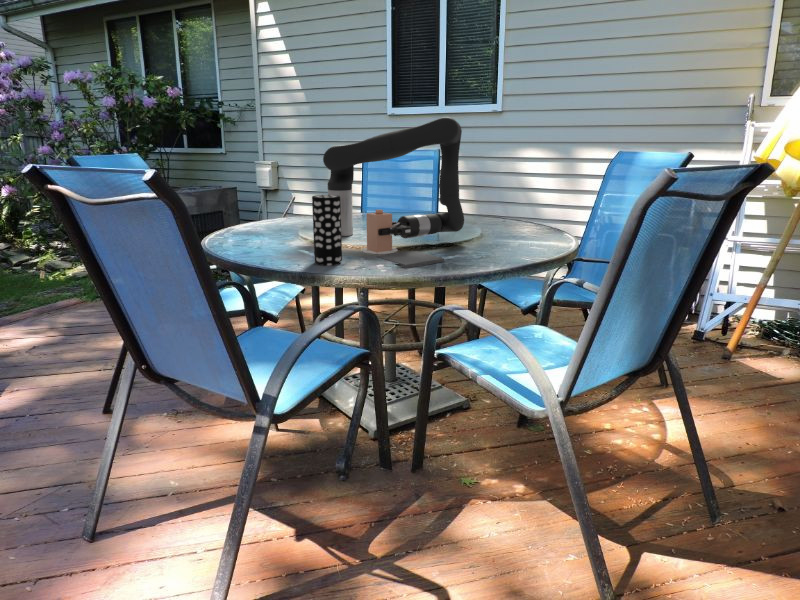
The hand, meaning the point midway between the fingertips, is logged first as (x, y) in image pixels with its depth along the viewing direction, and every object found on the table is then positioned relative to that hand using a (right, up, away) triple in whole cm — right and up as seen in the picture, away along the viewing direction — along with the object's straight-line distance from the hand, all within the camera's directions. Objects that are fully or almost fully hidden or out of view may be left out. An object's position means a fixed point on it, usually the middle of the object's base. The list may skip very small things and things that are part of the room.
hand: (373, 230), depth 182 cm
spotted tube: (-13, -11, -11) cm, 21 cm away
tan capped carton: (+2, -6, +3) cm, 7 cm away
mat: (+12, -10, -8) cm, 18 cm away
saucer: (+2, -7, +3) cm, 8 cm away
